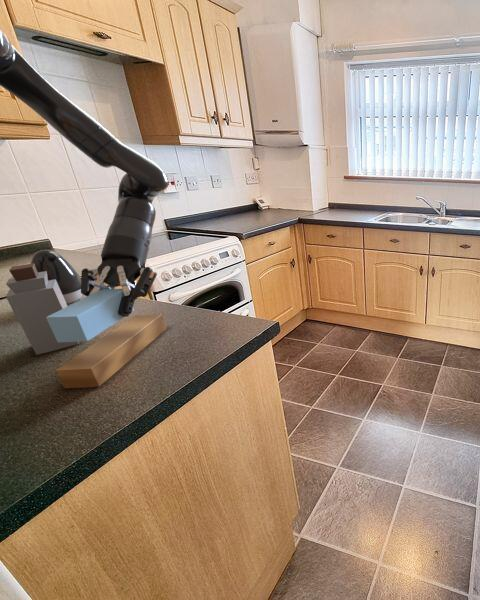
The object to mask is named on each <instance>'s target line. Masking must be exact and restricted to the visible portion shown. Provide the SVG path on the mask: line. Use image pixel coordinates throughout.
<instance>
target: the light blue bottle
mask: <svg viewBox="0 0 480 600" xmlns="http://www.w3.org/2000/svg"><path fill="white" fill-rule="evenodd" d="M122 297H124V295H123V289H122V288H114V289H101V290H100V291H97V292H95V293H93V294H91V295H89V296H85V297H83V298H80V299H78V300H77V301H75V302H72V303H70V304H68V305H67V307H65V308H63V309H61V310H59V311H58V312H56V313H54V314H52V315H50V316H48V317H46V319H47V321H48V323H49V325H50V327H51V329H52V331H53V333H54V336H55V338H56V340H57V342H79V343H80V342H81V343H82V342H89V341H90V340H92V339H94V338H95V337H97V336H98V335H100V334H101V333H102V332H104V331H105V330H107V329H109V328H110V327H111V326H113V325H114V324H116V323H118V322H119V321H120V320H122V319H123V318H124V317H123V316H121V315H119V314H118V310H119V306H120V302H121V298H122ZM134 311H135V307H134V306H133V309H132V312H134Z"/></svg>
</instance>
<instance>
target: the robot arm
mask: <svg viewBox="0 0 480 600" xmlns="http://www.w3.org/2000/svg"><path fill="white" fill-rule="evenodd" d="M0 87H2V88H3V89H5V90H6V91H7V92H9V93H10V94H12V95H13V96H15V97H16V98H17V99H19V100H20V101H21V102H22V103H24V104H25V105H26V106H28V107H29V108H30V109H31V110H33V111H34V112H35V113H36V114H37V115H38V116H40V117H41V118H42V120H43V121H45V122H46V123H47V124H48V125H49V126H51V127H52V128H53V129H54V130H55V131H56V132H58V134H60V135H61V136H62V137H63V138H64V139H66V140H67V142H69V143H70V144H71V145H73V146H74V147H75V148H77V149H78V150H79V151H80V152H82V153H83V154H84V155H85V156H87V157H88V158H89V159H90V160H92V161H93V162H94V163H95V164H97V165H98V166H100V167H102V168H105V169H107V168H113V167H115V168H117V169H119V170H121V171H123V172H124V173H125V174H124V175H123V176H122V178H121V180H120V182H119V185H118V189H117V190H118V191H117V202H118V204H117V206H116V209H115V212H114V215H113V219H112V221H111V223H110V225H109V227H108V230H107V234H106V237H105V240H104V243H103V247H102V250H101V253H100V257H101V263H100V264H99V265H98V267H97V268H93V269H88V268H83V269H82V270H81V276H80V278H81V294H83V295H82V296H85V297H87V296H89V295H91V294H93V293H95V292H97V291H100V290H101V289H116V288H117V287H121V289H123V295H124V297H122V298H121V302H120V306H119V310H118V314H119V315H121V316H123V318H128V317H129V316H130V314H132V312H133V311H132V309H133V307H134V305H135V301H136V300H137V299H139V298H141V297H142V298H145V297H147V296H148V294H149V293H150V290H151V288H152V285H153V284H154V282H155V280H156V278H157V275H158V273H157V272H156V271H155V270H154V269H152V268H151V267H149V266H146V264H147V258H148V254H149V251H150V247H151V242H152V237H153V236H152V235H153V229H154V224H155V220H156V212H157V211H156V208H155V207H154V205H153V201H154V199H155V198H156V197H157V196H159V195H160V194H161V193H163V192H164V191H166V190H167V189H168V187H169V178H168V175H167V174H166V173H165V171H164V169H162V167H160V166H159V165H158V164H157V163H156V162H155V161H153V160H151V159H150V158H149V157H148V156H145V155H143V154H141V153H140V152H139V151H136V150H135V149H133V148H132V147H130V146H128V145H126V144H124V143H123V142H122V141H121V140H119V138H118V137H116V136H115V135H114V134H113V133H112V132H110V131H109V130H108V128H106V127H105V126H103V124H102V123H100V122H99V121H98V120H96V118H94V117H93V116H92V115H91V114H89V113H88V112H87V111H85V110H84V109H83V108H82V107H80V106H79V105H77V104H76V103H75V102H74V101H72V100H71V99H70V98H68V97H67V96H66V95H64V94H63V93H62V92H61V91H60V90H58V89H57V88H56V87H54V86H53V85H52V84H51V83H50V82H49V81H48V80H47V79H46V78H45V77H43V76H42V75H41V74H40V73H39V72H38V71H37V70H36V69H35V68H34V67H33V65H31V64H30V62H28V60H26V59H25V57H24V56H23V55H22V53H20V52H19V51H18V50H17V48H15V47H14V45H13V44H12V42H11V41H10V39H9V38H8V36H7V35H6V33H5V32H4V31H3V30H2V29H1V28H0ZM145 266H146V267H145Z"/></svg>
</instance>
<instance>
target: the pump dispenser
mask: <svg viewBox="0 0 480 600" xmlns="http://www.w3.org/2000/svg"><path fill="white" fill-rule="evenodd" d="M33 263H34V264H35V267H36V270H37V272H44V271H47V278H48V281H49V280H55V279H56V281H57V284H58V286H59V288H60V290H61V292H62V295H63V297H64V299H65V301H66V304H67V305H70V304H73V303H75V302H77V301H79V300H81V299H82V297H83V296H84V295H83V294H81V276H80V275H79V273H78V272H77V271H76V269H75V267H73V265H71V263H70V262H69V261H68V260H67V259H66V258H65V257H63V256H62V255H61V254H59V253H58V252H56V251H54V250H52V249H41V250H38V251H36V252H35V253H34V254H33V255H32V257H31V260H30V264H33Z"/></svg>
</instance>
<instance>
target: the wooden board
mask: <svg viewBox="0 0 480 600" xmlns="http://www.w3.org/2000/svg"><path fill="white" fill-rule="evenodd" d="M167 329H168V328H167V326H166V323H165V319H164V316H163V314H161V313H160V314H159V313H154V314H152V313H151V314H135V315H134V316H132V317H130V318H129V319H128V320H126V321H125V322H123V323H122V324H120V325H119V326H117V327H116V328H115V329H113V330H112V331H110V332H109V333H107V334H106V335H104V336H103V337H102V338H100V339H99V340H97V341H96V342H94V343H93V344H91V345H90V346H88V347H87V348H85V349H84V350H83V351H81V352H80V353H78V354H77V355H75V356H74V357H73V358H71V359H70V360H68V361H66V362H65V363H64V364H62V365H61V366H59V367H58V368H56V369H55V373H56V375H57V376H58V379H59V381H60V383H61V385H62V386H63V388H64V389H81V388H100V387H102V385H103V384H105V382H107V381H108V380H109V379H110V378H111V377H112V376H114V375H115V374H116V373H117V372H118V371H119V370H120V369H122V368H123V367H124V366H125V365H126V364H128V363H130V361H131V360H132V359H133V358H135V357H136V356H137V355H138V354H139V353H140V352H141V351H143V350H144V349H145V348H146V347H148V345H150V344H151V343H152V342H153V341H154V340H155V339H157V338H158V337H159V336H160V335H161V334H163V333H164V332H165V331H166V330H167Z"/></svg>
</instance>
